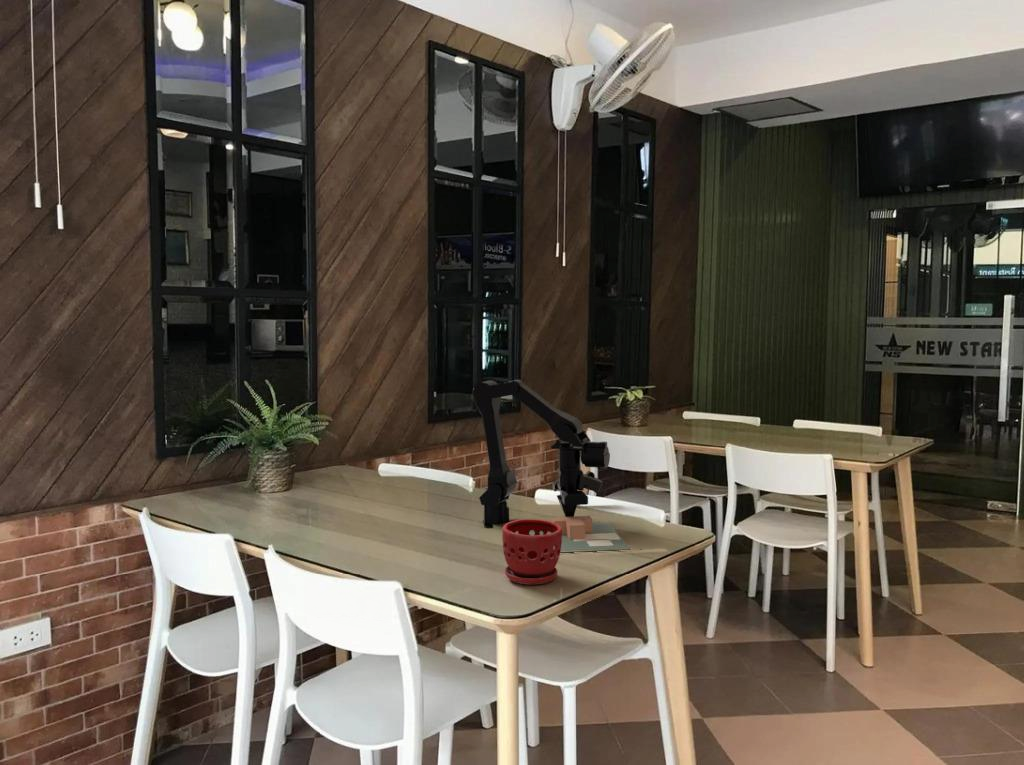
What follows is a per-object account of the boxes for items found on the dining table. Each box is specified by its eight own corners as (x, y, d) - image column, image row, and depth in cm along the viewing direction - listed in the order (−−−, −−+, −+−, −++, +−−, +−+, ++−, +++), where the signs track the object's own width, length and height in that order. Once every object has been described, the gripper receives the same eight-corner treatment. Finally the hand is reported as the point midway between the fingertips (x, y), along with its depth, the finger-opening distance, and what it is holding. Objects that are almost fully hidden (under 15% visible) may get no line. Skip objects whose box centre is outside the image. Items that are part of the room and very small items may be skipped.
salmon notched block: (558, 539, 215) (558, 526, 215) (552, 530, 224) (551, 517, 223) (596, 538, 216) (596, 524, 216) (589, 528, 225) (589, 515, 225)
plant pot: (493, 585, 184) (493, 530, 182) (515, 567, 196) (514, 516, 195) (551, 592, 179) (551, 536, 178) (569, 573, 191) (569, 521, 190)
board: (537, 554, 205) (537, 551, 205) (524, 528, 229) (524, 525, 229) (630, 550, 208) (630, 547, 207) (608, 525, 231) (608, 522, 231)
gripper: (607, 471, 216) (607, 531, 217) (592, 457, 234) (592, 513, 236) (564, 473, 214) (564, 533, 216) (552, 459, 233) (552, 514, 234)
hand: (569, 523), depth 226 cm, fingers closed
